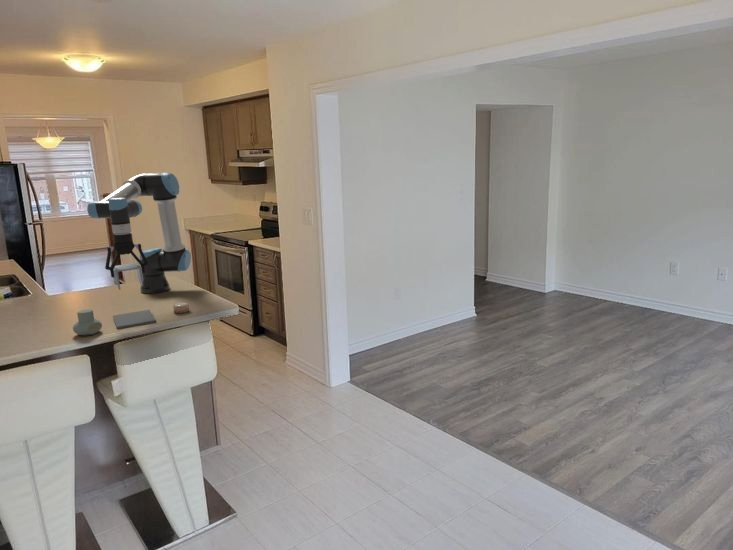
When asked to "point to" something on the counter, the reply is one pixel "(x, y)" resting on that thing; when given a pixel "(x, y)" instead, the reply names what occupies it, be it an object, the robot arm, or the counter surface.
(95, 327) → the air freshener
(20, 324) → the counter surface
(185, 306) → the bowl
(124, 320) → the mat
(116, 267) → the grey arch block
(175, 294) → the counter surface
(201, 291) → the counter surface
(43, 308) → the counter surface
